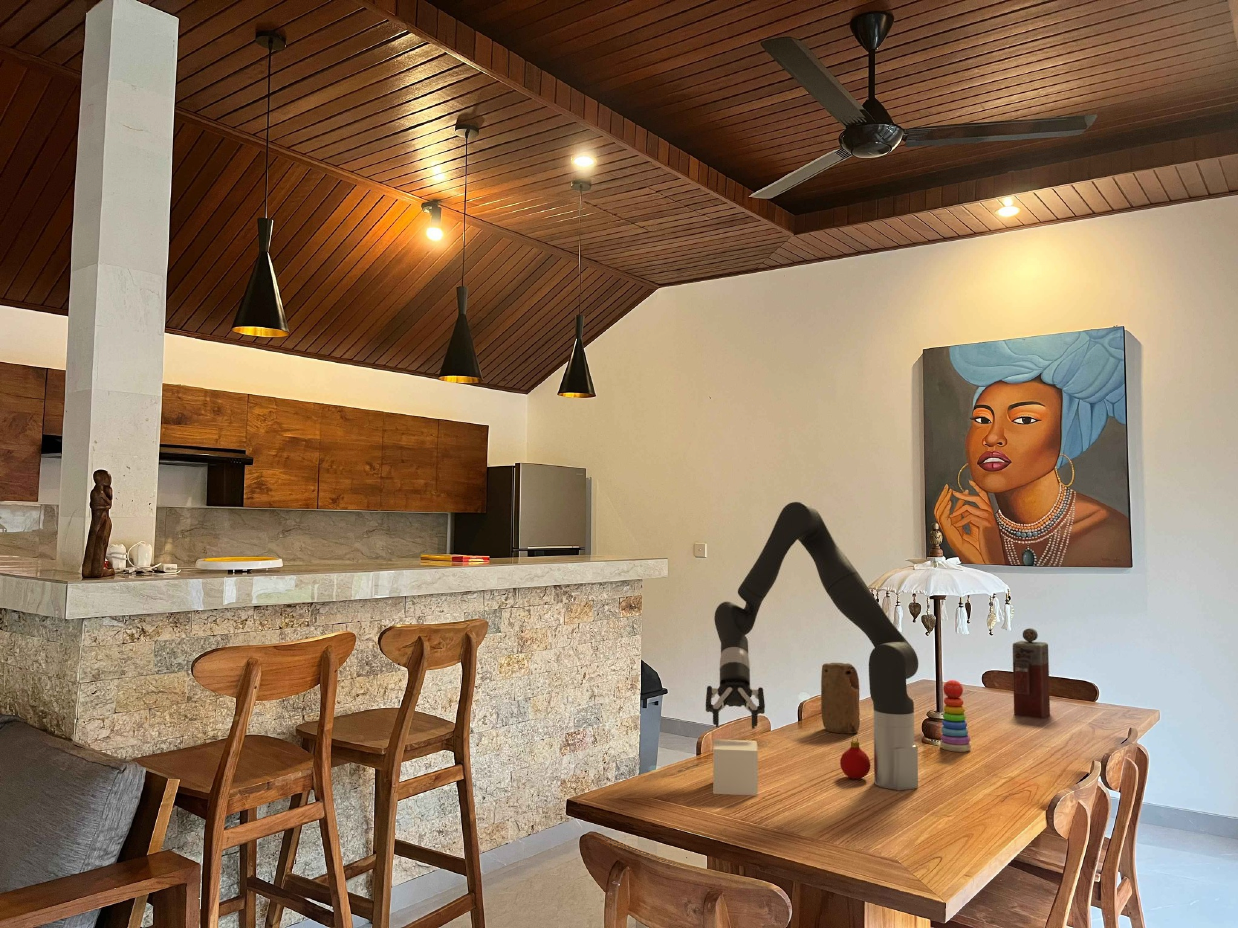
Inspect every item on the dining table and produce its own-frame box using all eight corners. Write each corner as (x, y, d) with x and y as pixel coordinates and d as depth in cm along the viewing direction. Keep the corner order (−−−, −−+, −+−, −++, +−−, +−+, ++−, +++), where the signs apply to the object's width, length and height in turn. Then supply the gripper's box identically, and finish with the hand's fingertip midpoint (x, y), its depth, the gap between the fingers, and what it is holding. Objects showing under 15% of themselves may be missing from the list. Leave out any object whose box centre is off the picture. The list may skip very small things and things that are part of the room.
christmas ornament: (849, 783, 212) (849, 740, 213) (834, 775, 219) (834, 733, 219) (876, 781, 214) (875, 738, 215) (860, 773, 221) (860, 732, 221)
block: (819, 730, 267) (818, 663, 269) (829, 726, 273) (828, 660, 275) (854, 735, 261) (853, 666, 262) (863, 731, 267) (862, 663, 268)
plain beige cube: (714, 738, 214) (713, 748, 204) (756, 740, 212) (757, 750, 203) (714, 781, 213) (713, 793, 203) (756, 783, 212) (757, 795, 202)
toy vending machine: (1011, 715, 291) (1009, 628, 293) (1021, 710, 300) (1019, 626, 302) (1041, 719, 285) (1038, 631, 287) (1050, 714, 294) (1048, 628, 296)
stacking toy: (946, 744, 252) (944, 676, 253) (975, 748, 247) (973, 679, 248) (935, 749, 246) (934, 680, 247) (965, 754, 241) (964, 683, 242)
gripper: (706, 659, 223) (705, 716, 211) (763, 661, 222) (765, 718, 210) (706, 677, 228) (705, 733, 216) (762, 679, 227) (765, 735, 214)
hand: (735, 726), depth 213 cm, fingers open, 8 cm apart
